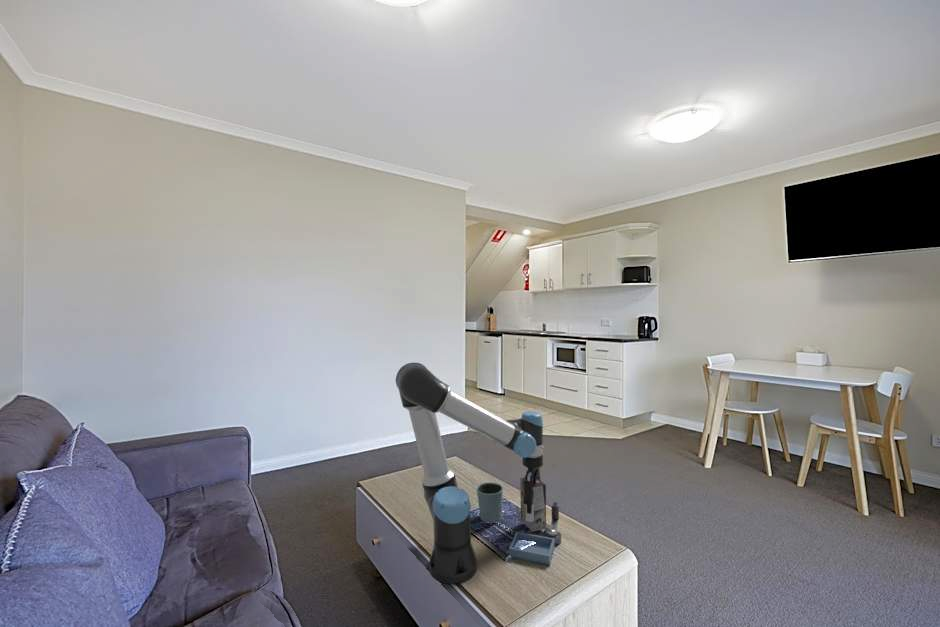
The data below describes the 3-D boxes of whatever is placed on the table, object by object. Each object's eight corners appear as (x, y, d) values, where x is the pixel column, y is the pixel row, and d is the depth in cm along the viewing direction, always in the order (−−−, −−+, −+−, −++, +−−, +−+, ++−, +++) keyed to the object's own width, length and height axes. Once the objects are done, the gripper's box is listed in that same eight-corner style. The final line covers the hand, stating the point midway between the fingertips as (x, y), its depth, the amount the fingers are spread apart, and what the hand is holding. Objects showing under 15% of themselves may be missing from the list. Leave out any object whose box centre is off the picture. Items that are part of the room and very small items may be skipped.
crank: (556, 537, 137) (556, 519, 137) (545, 535, 139) (544, 517, 139) (561, 520, 148) (561, 503, 148) (550, 518, 150) (550, 501, 150)
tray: (549, 565, 126) (549, 556, 126) (509, 557, 131) (509, 548, 131) (554, 547, 136) (554, 538, 136) (516, 540, 140) (516, 531, 140)
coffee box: (547, 528, 145) (546, 484, 145) (531, 532, 143) (531, 487, 142) (534, 516, 153) (534, 475, 153) (519, 519, 151) (519, 477, 151)
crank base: (559, 547, 136) (559, 541, 136) (517, 539, 141) (517, 533, 141) (562, 536, 142) (562, 531, 142) (521, 529, 147) (521, 524, 147)
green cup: (508, 520, 153) (507, 489, 153) (485, 528, 148) (485, 496, 148) (494, 509, 162) (493, 480, 162) (472, 516, 157) (472, 485, 157)
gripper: (536, 467, 136) (536, 531, 136) (548, 445, 157) (548, 500, 157) (514, 464, 138) (515, 527, 138) (529, 443, 160) (529, 497, 160)
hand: (533, 513), depth 148 cm, fingers closed on coffee box, 11 cm apart
